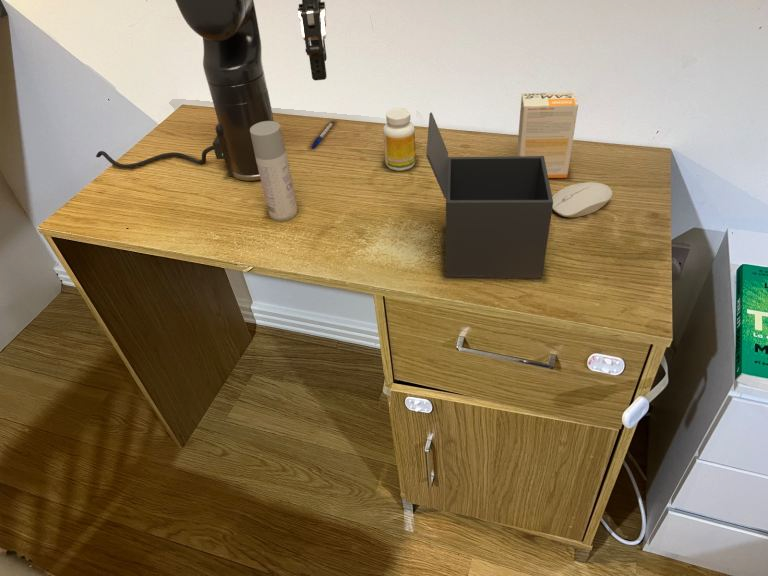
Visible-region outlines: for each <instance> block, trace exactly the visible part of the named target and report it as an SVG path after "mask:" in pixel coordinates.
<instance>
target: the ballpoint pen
mask: <svg viewBox="0 0 768 576" xmlns="http://www.w3.org/2000/svg"><path fill="white" fill-rule="evenodd" d="M333 125H334V121H331V122H329V124H328V125H327V126H326V127H325V129H324V130H323V131H322V132H321V134H320V135H319V136H318V137H316V139H315V140H314V141H313V142H312V145H311V149H312V150H314V149H315V148H316V147H317V146H318V145H319V144H320V142H321V141H322V140H323V138H324V137H325V135H326V134H327V133H328V132H329V130H330V129H331V128H332V126H333Z"/></svg>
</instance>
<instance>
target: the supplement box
mask: <svg viewBox="0 0 768 576" xmlns="http://www.w3.org/2000/svg"><path fill="white" fill-rule="evenodd" d="M520 99H521V100H520V110H519V123H518V135H517V147H516V156H544V159H545V164H546V169H547V174H548V179H567V178H568V175H569V170H570V169H569V168H570V162H571V155H572V150H573V142H574V135H575V130H576V123H577V116H578V110H579V103H578V101H577V98H576V95H575V92H574V91H560V92H558V91H557V92H556V91H555V92H529V93H527V92H525V93H521V98H520Z"/></svg>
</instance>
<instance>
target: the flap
mask: <svg viewBox="0 0 768 576" xmlns="http://www.w3.org/2000/svg"><path fill="white" fill-rule="evenodd" d="M425 156H426V158H427V161H428V163H429V165H430V168H431V171H432V172H433V174H434V177H435V180H436V181H437V184H438V186H439V189H440V191H441V193H442V195H443V198H444V199H446V197H447V173H448V157H449V151H448V149H447V147H446V144H445V141H444V138H443V136H442V134H441V132H440V129H439V127H438V124H437V121H436V119H435V116H434V114H433V112H429V117H428V129H427V142H426V153H425Z"/></svg>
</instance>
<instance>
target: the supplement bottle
mask: <svg viewBox="0 0 768 576" xmlns="http://www.w3.org/2000/svg"><path fill="white" fill-rule="evenodd" d="M385 117H386V120H385V121H386V123H385V124H384V126H383V129H382V133H383V134H382V135H383V146H384V163H385V165H386V167H387V168H388V169H390V170H393V171H397V172H399V171H400V172H402V171H406V170H409V169H412V168H413V167H414V166H415V164H416V135H415V133H416V132H415V130H416V129H415V125H414V123H412V122H411V112H410V110H408V109H406V108H401V107H400V108H399V107H397V108H393V109H390V110H388V111H387V112H386V114H385Z"/></svg>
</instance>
